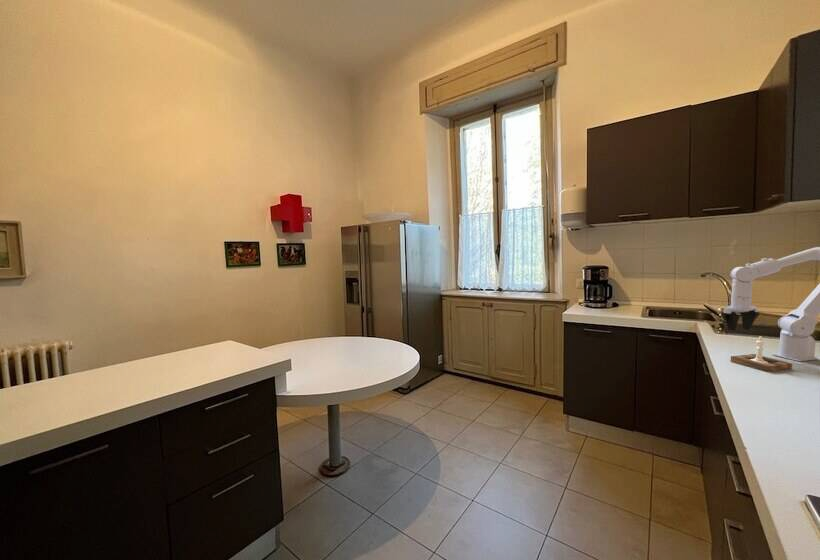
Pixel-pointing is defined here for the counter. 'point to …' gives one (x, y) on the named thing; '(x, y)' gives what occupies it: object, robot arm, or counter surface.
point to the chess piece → (759, 351)
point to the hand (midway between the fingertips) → (739, 329)
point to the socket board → (769, 367)
